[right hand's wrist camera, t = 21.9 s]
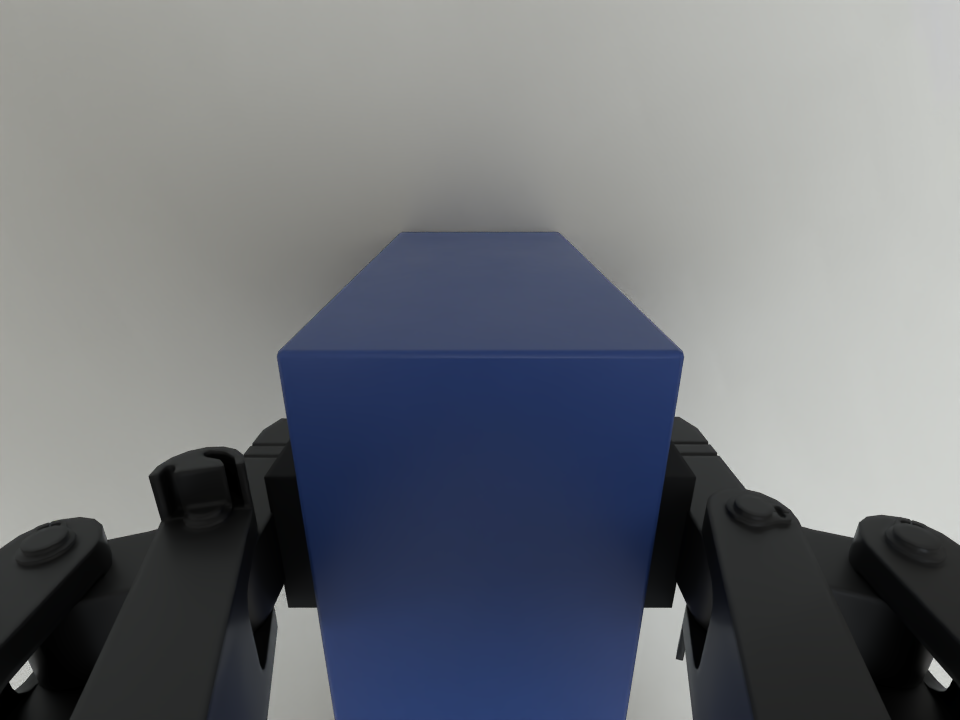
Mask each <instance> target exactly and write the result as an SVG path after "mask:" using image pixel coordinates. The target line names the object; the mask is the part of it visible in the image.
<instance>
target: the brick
mask: <svg viewBox="0 0 960 720" xmlns="http://www.w3.org/2000/svg"><path fill="white" fill-rule="evenodd" d="M277 360H278V366H279V372H280V379H281V385H282V391H283V397H284V404H285V410H286V416H287V423H288V429H289V435H290V441H291V448H292V454H293V460H294V466H295V473H296V479H297V485H298V491H299V498H300V504H301V510H302V516H303V523H304V529H305V535H306V541H307V548H308V554H309V560H310V566H311V573H312V579H313V585H314V591H315V598H316V604H317V610H318V616H319V623H320V629H321V635H322V641H323V648H324V654H325V660H326V667H327V673H328V679H329V685H330V692H331V698H332V704H333V710H334V717H335V720H626V715H627V709H628V702H629V696H630V690H631V684H632V677H633V671H634V665H635V659H636V653H637V646H638V640H639V634H640V628H641V621H642V615H643V609H644V603H645V597H646V590H647V584H648V578H649V572H650V565H651V559H652V553H653V547H654V540H655V534H656V528H657V522H658V516H659V509H660V503H661V497H662V491H663V484H664V478H665V472H666V466H667V459H668V453H669V447H670V441H671V435H672V428H673V422H674V416H675V410H676V403H677V397H678V391H679V385H680V378H681V372H682V366H683V360H684V355H683V351H682V350H681V349H680V348H679V347H678V346H677V345H676V344H675V343H673V342H672V341H671V340H670V339H669V338H668V337H667V336H666V335H665V334H664V333H663V332H662V331H661V330H660V329H659V328H658V327H657V326H656V325H655V324H654V323H653V322H652V321H651V320H650V319H648V318H647V317H646V316H645V315H644V314H643V313H642V312H641V311H640V310H639V309H638V308H637V307H636V306H635V305H634V304H633V303H632V302H631V301H630V300H629V299H628V298H627V297H626V296H625V295H624V294H622V293H621V292H620V291H619V290H618V289H617V288H616V287H615V286H614V285H613V284H612V283H611V282H610V281H609V280H608V279H607V278H606V277H605V276H604V275H603V274H602V273H601V272H600V271H599V270H598V269H596V268H595V267H594V266H593V265H592V264H591V263H590V262H589V261H588V260H587V259H586V258H585V257H584V256H583V255H582V254H581V253H580V252H579V251H578V250H577V249H576V248H575V247H574V246H573V245H572V244H570V243H569V242H568V241H567V240H566V239H565V238H564V237H563V236H562V235H561V234H560V233H558V232H401V233H400V234H399V235H398V236H397V237H395V238H394V239H393V240H392V241H391V242H390V243H389V244H388V245H387V246H386V247H385V248H384V249H383V250H382V251H381V252H380V253H379V254H378V255H377V256H376V257H375V258H374V259H373V260H372V261H371V262H370V263H369V264H368V265H367V266H366V267H365V268H364V269H363V270H362V271H361V272H360V273H359V274H357V275H356V276H355V277H354V278H353V279H352V280H351V281H350V282H349V283H348V284H347V285H346V286H345V287H344V288H343V289H342V290H341V291H340V292H339V293H338V294H337V295H336V296H335V297H334V298H333V299H332V300H331V301H330V302H329V303H328V304H327V305H326V306H325V307H324V308H323V309H322V310H320V311H319V312H318V313H317V314H316V315H315V316H314V317H313V318H312V319H311V320H310V321H309V322H308V323H307V324H306V325H305V326H304V327H303V328H302V329H301V330H300V331H299V332H298V333H297V334H296V335H295V336H294V337H293V338H292V339H291V340H290V341H289V342H288V343H287V344H286V345H285V346H283V347H282V348H281V349H280V350H279V351H278V355H277Z"/></svg>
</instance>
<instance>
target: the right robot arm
mask: <svg viewBox="0 0 960 720" xmlns="http://www.w3.org/2000/svg"><path fill="white" fill-rule="evenodd" d="M149 480H150V483H151V486H152V490H153V493H154V497H155V500H156V504H157V507H158V511H159V514H160V518H161V523H160V526H159V528H158V529H156V530H153V531H149V532H144V533H140V534H135V535H130V536H125V537H120V538H115V539H110V540H107V538H106V535H105V532H104V529H103V526H102V524H100V523H99V522H98V521H96V520H95V519H91V518H83V517H77V518H69V519H61V520H57V521H52V522H51V523H46V524H43V525H40V526H38V527H36V528H35V529H33V530H30V531H28V532H26V533H24V534H22V535H20V536H18V537H17V538H15V539H14V540H12V541H11V542H9V543H8V544H6V545H5V546H4V547H2V548H1V549H0V720H267V716H268V707H269V699H270V690H271V681H272V672H273V663H274V654H275V645H276V637H277V628H278V626H277V620H276V614H275V609H274V605H275V602H276V600H277V598H278V596H279V594H280V591H281V589H282V587H283V585H284V586H285V592H286V597H287V602H288V608H317V604H316V598H315V591H314V585H313V579H312V573H311V566H310V560H309V554H308V548H307V541H306V535H305V529H304V523H303V516H302V510H301V504H300V498H299V491H298V485H297V479H296V473H295V466H294V460H293V454H292V448H291V441H290V435H289V429H288V423H287V419H280V420H278V421H277V422H275V423H274V424H272V425H270V426H269V427H267V428H266V429H264V430H263V431H262V432H261V433H260V435H259V436H258V437H257V438H256V440H255V441H254V442H253V445H252V446H250V447H249V449H248V450H247V451H246V452H245V454H244V456H243V454H241V453H240V452H239V451H237V450H236V449H232V448H227V447H205V448H201V449H196V450H191V451H188V452H185V453H183V454H180V455H177V456H175V457H172V458H170V459H169V460H167V461H166V462H164V463H162V464H161V465H159V466H157V468H156V469H155V470H154V471H153V472H152V473H151V474H150V475H149ZM676 583H677V584H678V586H679V588H680V590H681V593H682V595H683V597H684V599H685V601H686V603H687V604H686V609H685V614H684V619H683V624H682V629H681V634H680V639H679V644H678V649H677V655H676V659H678V660H682V661H683V657H684V653H686V662H687V671H688V679H689V688H690V697H691V706H692V715H693V720H960V545H958V544H957V543H956V542H954V541H953V540H951V539H950V538H948V537H947V536H945V535H944V534H942V533H940V532H938V531H936V530H934V529H932V528H929V527H927V526H926V525H924V524H922V523H919V522H916V521H913V520H912V521H911V520H910V519H906V518H902V517H894V516H886V515H876V516H869V517H866V518H865V519H863V520H862V521H861V522H859V524H858V527H857V530H856V533H855V536H854V538H851V537H846V536H842V535H837V534H832V533H827V532H822V531H817V530H812V529H809V528H805V527H801V525H800V522H799V520H798V519H797V518H796V517H795V515H794V514H793V513H792V511H791V510H790V509H788V508H787V507H786V506H784V505H783V504H781V503H780V502H779V501H777V500H775V499H773V498H771V497H769V496H766V495H764V494H762V493H759V492H755V491H751V490H746V489H745V488H744V486H743V485H742V484H741V483H740V481H739V480H738V479H737V477H736V476H735V475H734V474H733V472H732V471H731V470H730V469H729V467H728V466H727V465H726V464H725V462H724V461H723V460H722V459H721V457H720V456H717V452H716V451H715V450H714V449H713V447H712V446H711V445H708V441H707V440H706V439H705V437H704V436H703V435H702V434H701V432H700V431H699V430H698V429H697V428H696V427H694V426H693V425H691V424H690V423H688V422H686V421H685V420H683V419H682V418H680V417H674V422H673V428H672V435H671V441H670V447H669V453H668V459H667V466H666V472H665V478H664V484H663V491H662V497H661V503H660V509H659V516H658V522H657V528H656V534H655V540H654V547H653V553H652V559H651V565H650V572H649V578H648V584H647V590H646V597H645V603H644V608H672V604H673V599H674V593H675V588H676ZM933 658H935V660H936V661H937V662H938V663H939V664H940V665H941V666H942V668H943V669H944V670H945V671H946V672H947V673H948V674H949V676H950V677H951V678H952V679H953V680H952V682H951V684H950V686H949V687H948V688H947V689H946V688H945V687H943V686H942V685H941V684H940V683H939V682H938V681H937V680H936V679H935V678H934V676H933V675H932V674H931V673H930V672H929V670H928V668H929V666H930V664H931V662H932V660H933ZM27 660H28V661H29V663H30V665H31V667H32V669H33V673H32V674H31V675H30V676H29V677H28V679H27V680H26V681H25V682H24V683H23V684H22V685H21V686H20V687H18V688H17V689H16V690H14V689H12V687H11V685H10V683H9V681H10V680H11V679H12V678H13V677H14V675H15V674H16V673H17V672H18V671H19V670H20V669H21V667H22V666H23V665H24V664H25V663H26V662H27Z"/></svg>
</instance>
